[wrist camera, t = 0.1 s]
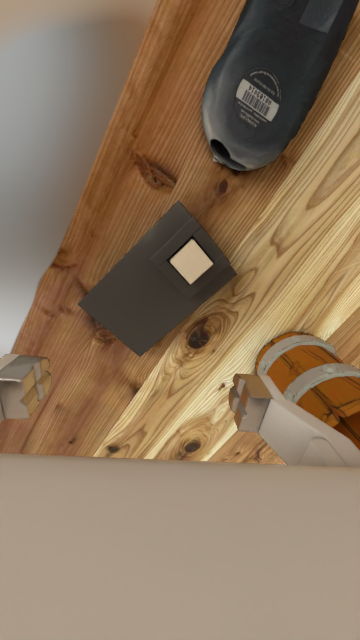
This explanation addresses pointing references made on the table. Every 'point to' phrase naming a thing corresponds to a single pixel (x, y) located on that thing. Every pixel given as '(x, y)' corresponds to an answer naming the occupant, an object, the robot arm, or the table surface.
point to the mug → (314, 380)
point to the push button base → (156, 283)
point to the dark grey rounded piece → (270, 77)
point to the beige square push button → (191, 261)
